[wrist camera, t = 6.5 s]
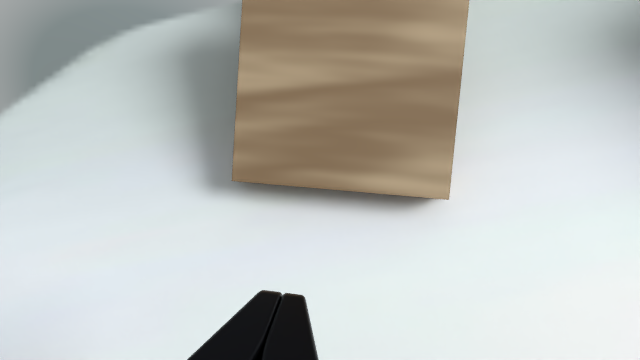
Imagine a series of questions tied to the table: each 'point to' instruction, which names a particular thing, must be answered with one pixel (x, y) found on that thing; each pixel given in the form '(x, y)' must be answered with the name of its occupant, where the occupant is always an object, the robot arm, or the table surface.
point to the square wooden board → (349, 94)
